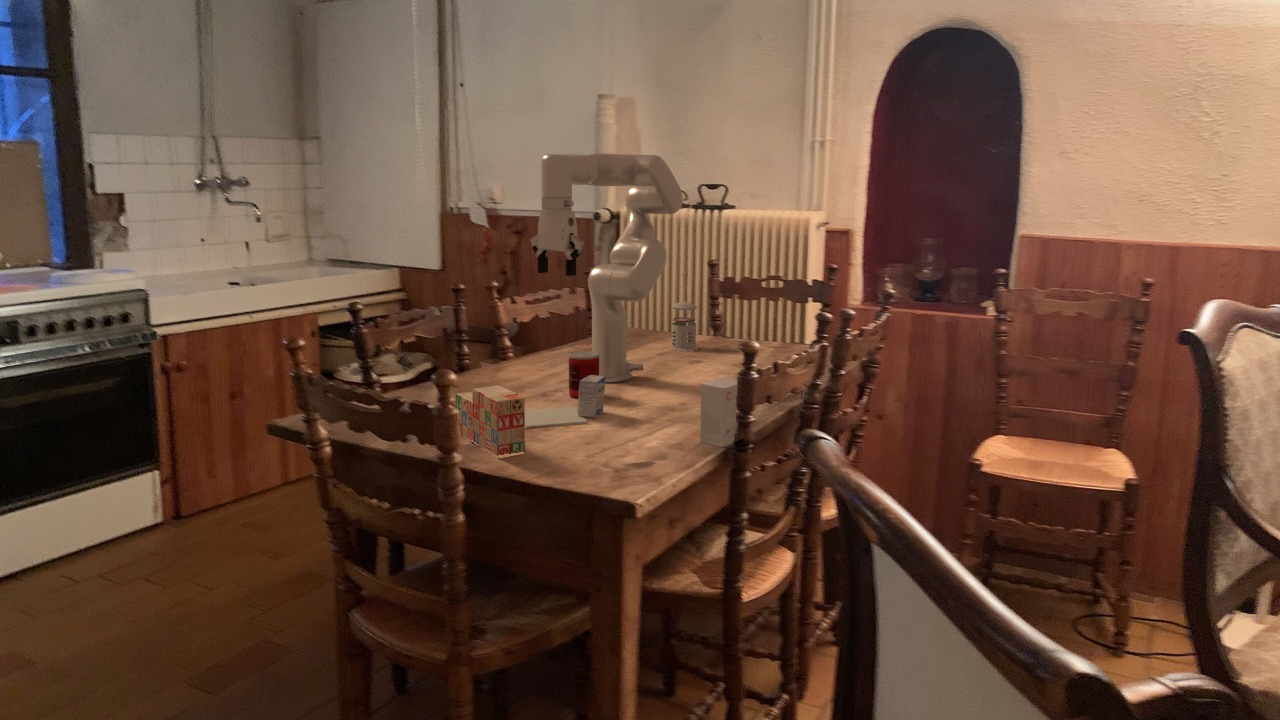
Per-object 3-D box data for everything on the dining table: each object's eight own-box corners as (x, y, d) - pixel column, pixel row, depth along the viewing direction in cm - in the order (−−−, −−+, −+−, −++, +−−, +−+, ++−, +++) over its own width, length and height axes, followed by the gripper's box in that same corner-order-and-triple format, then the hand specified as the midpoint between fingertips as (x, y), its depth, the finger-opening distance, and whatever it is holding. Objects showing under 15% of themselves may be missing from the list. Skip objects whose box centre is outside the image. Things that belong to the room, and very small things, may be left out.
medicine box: (595, 418, 220) (598, 382, 218) (576, 416, 220) (579, 379, 219) (603, 411, 227) (606, 376, 226) (585, 409, 228) (588, 374, 227)
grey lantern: (665, 350, 304) (666, 272, 299) (674, 344, 314) (675, 269, 309) (694, 352, 301) (696, 274, 296) (703, 345, 312) (704, 270, 307)
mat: (572, 408, 230) (572, 406, 230) (587, 423, 217) (587, 421, 217) (499, 414, 224) (499, 412, 224) (509, 429, 211) (509, 427, 211)
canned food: (603, 393, 245) (603, 352, 243) (592, 400, 238) (592, 357, 236) (576, 391, 248) (576, 350, 245) (564, 398, 240) (563, 355, 238)
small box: (720, 434, 209) (722, 377, 206) (744, 440, 205) (746, 381, 202) (699, 442, 202) (700, 383, 200) (723, 448, 198) (724, 387, 196)
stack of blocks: (456, 434, 207) (454, 380, 205) (482, 430, 211) (481, 376, 208) (497, 459, 190) (496, 400, 187) (525, 455, 193) (524, 396, 191)
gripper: (592, 206, 232) (592, 275, 235) (542, 204, 242) (542, 270, 246) (572, 206, 226) (572, 277, 229) (521, 204, 237) (521, 272, 240)
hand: (556, 274), depth 238 cm, fingers open, 9 cm apart
